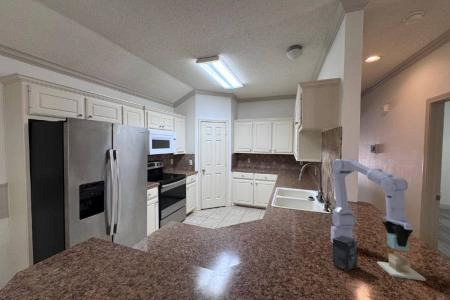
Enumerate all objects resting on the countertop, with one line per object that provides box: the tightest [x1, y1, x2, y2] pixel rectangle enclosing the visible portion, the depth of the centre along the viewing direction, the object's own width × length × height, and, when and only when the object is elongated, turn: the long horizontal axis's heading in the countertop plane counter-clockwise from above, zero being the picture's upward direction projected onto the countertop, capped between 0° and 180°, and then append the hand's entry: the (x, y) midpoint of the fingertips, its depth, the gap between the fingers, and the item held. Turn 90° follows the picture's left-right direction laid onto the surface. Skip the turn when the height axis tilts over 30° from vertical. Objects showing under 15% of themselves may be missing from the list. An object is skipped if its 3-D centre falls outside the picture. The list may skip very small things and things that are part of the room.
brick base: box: [387, 253, 411, 273], centre depth 73 cm, size 4×4×4 cm
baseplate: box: [376, 261, 426, 282], centre depth 73 cm, size 10×10×1 cm
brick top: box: [386, 232, 410, 252], centre depth 74 cm, size 4×4×4 cm
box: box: [332, 235, 358, 272], centre depth 76 cm, size 8×6×11 cm
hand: (397, 243), depth 74 cm, fingers closed on brick top, 4 cm apart
